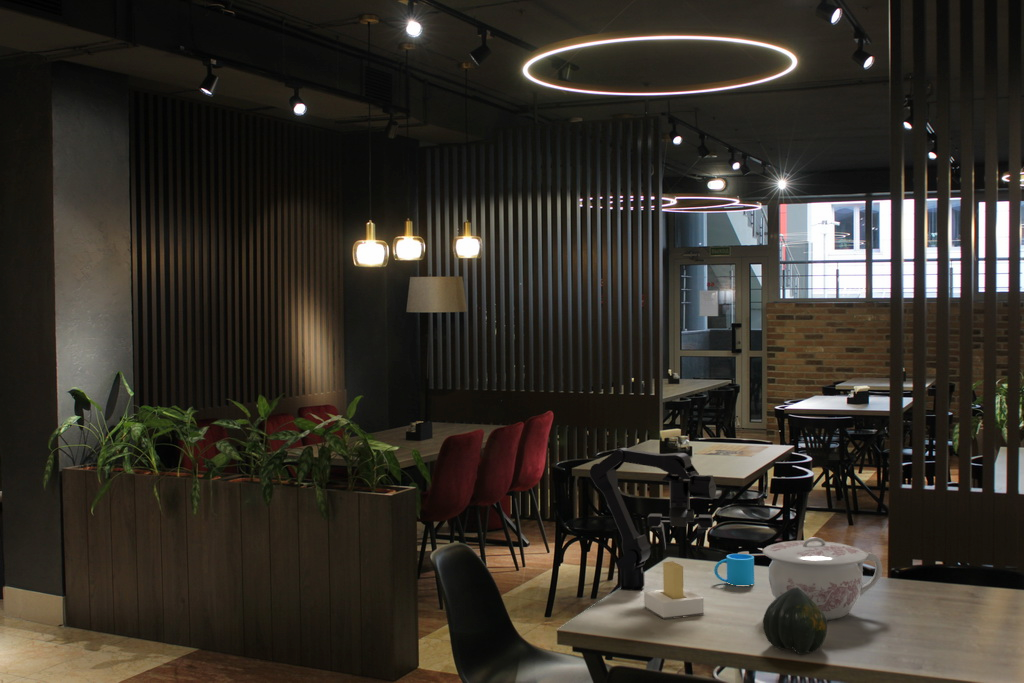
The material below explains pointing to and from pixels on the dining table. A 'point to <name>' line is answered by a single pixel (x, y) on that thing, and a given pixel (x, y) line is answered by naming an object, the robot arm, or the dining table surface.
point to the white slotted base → (673, 604)
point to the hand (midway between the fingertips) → (680, 549)
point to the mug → (738, 569)
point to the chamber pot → (821, 573)
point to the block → (673, 580)
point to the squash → (795, 622)
